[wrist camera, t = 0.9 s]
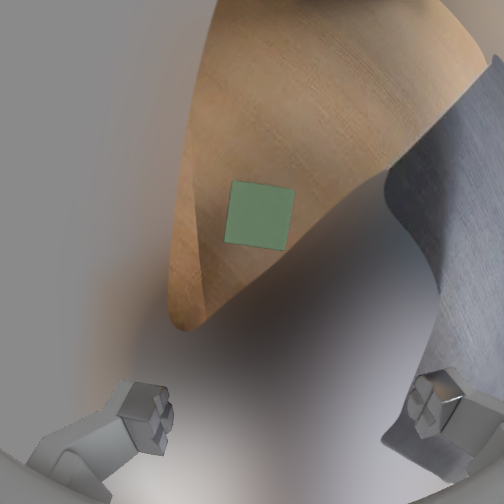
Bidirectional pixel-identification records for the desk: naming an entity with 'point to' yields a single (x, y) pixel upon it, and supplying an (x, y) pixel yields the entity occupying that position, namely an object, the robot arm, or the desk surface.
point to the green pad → (258, 215)
